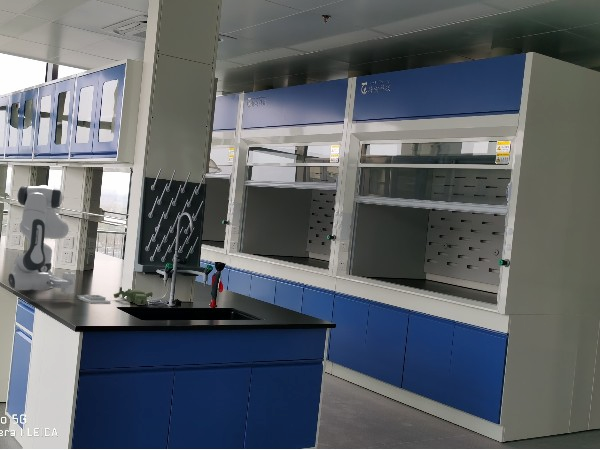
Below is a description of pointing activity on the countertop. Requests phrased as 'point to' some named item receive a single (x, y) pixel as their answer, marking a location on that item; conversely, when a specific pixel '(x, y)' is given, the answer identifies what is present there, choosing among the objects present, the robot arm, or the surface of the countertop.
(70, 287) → the charger
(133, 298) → the toy
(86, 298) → the outlet plate
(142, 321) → the countertop surface
